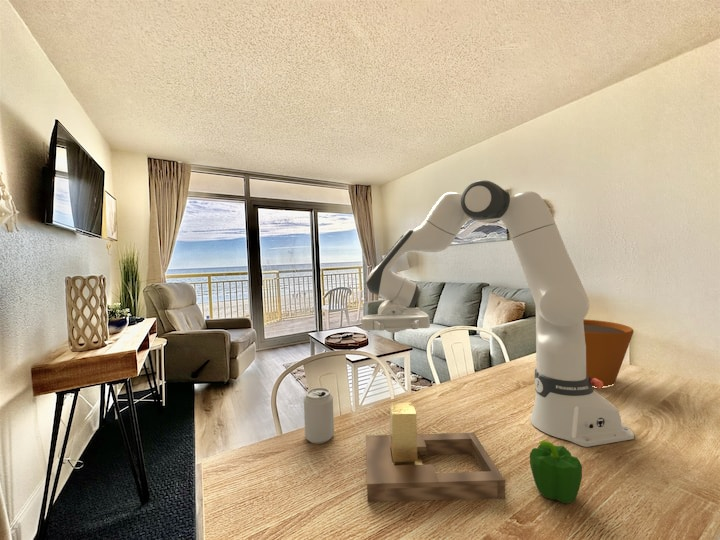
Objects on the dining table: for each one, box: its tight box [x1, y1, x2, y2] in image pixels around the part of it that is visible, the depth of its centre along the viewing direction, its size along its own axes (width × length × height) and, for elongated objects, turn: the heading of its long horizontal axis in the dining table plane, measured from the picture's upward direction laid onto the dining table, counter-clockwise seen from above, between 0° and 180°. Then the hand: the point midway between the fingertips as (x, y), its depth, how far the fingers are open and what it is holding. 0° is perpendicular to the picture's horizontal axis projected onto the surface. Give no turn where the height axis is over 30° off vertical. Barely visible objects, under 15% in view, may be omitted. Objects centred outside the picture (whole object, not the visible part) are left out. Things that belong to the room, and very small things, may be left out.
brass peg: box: [389, 401, 424, 465], centre depth 66 cm, size 8×8×14 cm
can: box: [303, 387, 335, 445], centre depth 80 cm, size 8×8×12 cm
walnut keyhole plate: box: [365, 432, 506, 503], centre depth 66 cm, size 26×16×4 cm, turn 90°
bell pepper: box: [529, 440, 583, 505], centre depth 59 cm, size 8×8×10 cm
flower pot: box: [583, 318, 634, 386], centre depth 111 cm, size 24×24×20 cm
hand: (398, 327), depth 86 cm, fingers open, 8 cm apart
